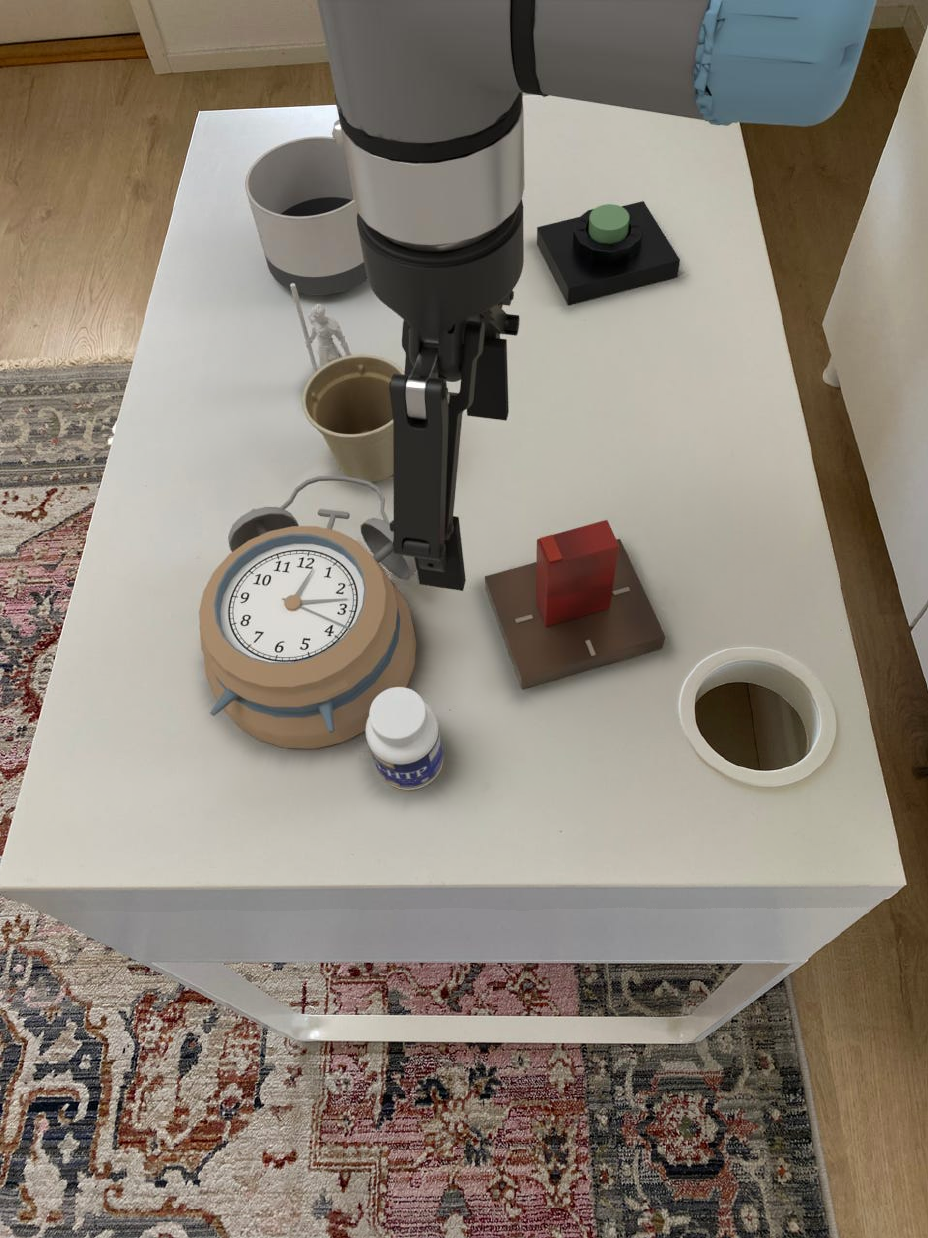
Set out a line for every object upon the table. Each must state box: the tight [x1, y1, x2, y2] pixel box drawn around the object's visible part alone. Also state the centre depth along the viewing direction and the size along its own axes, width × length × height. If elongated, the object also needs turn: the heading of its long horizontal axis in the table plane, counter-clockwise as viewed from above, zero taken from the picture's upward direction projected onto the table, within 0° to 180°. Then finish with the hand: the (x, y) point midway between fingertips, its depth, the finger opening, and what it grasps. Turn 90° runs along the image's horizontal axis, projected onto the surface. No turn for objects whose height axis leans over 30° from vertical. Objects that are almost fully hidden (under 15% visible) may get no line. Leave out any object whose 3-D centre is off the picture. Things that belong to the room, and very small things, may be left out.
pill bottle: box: [365, 687, 444, 791], centre depth 69 cm, size 5×5×9 cm
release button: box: [589, 203, 629, 244], centre depth 96 cm, size 4×4×2 cm
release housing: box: [536, 200, 681, 306], centre depth 98 cm, size 12×10×4 cm
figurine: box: [290, 283, 353, 374], centre depth 87 cm, size 5×5×12 cm
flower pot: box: [301, 353, 405, 483], centre depth 84 cm, size 9×9×9 cm
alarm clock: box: [198, 475, 417, 750], centre depth 75 cm, size 17×9×23 cm
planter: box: [244, 136, 368, 296], centre depth 97 cm, size 13×13×10 cm
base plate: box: [484, 538, 666, 690], centre depth 77 cm, size 12×10×2 cm
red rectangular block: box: [536, 519, 619, 627], centre depth 72 cm, size 6×2×9 cm, turn 106°
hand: (466, 494), depth 60 cm, fingers open, 13 cm apart
